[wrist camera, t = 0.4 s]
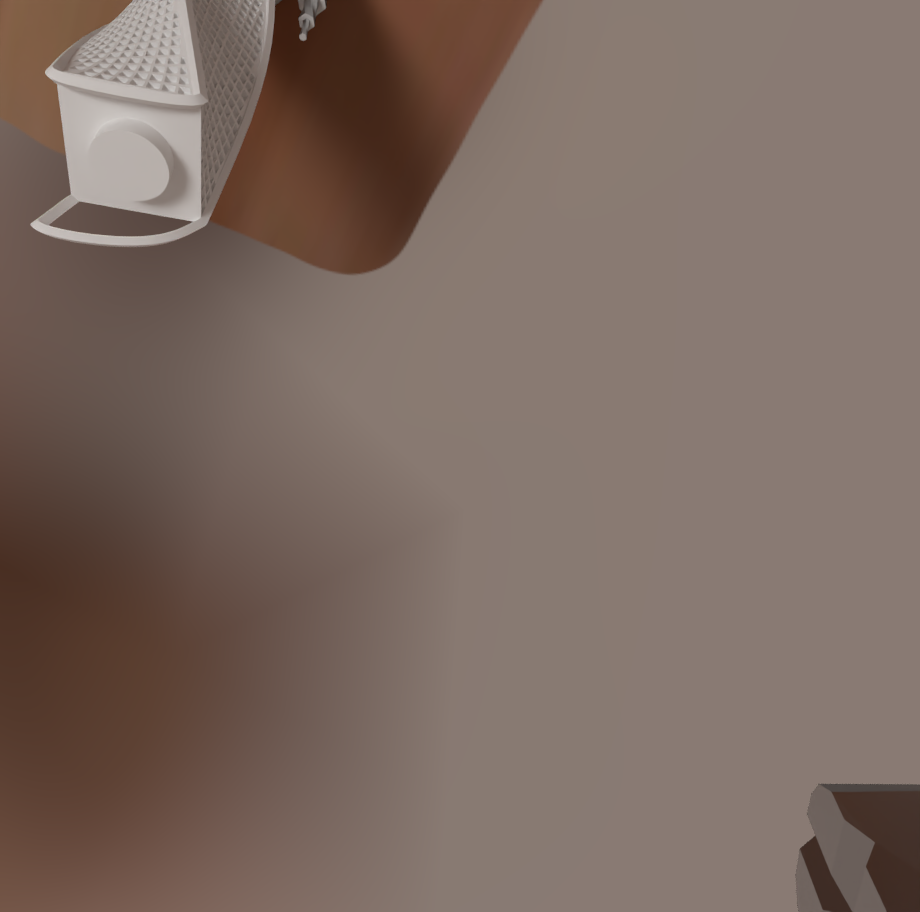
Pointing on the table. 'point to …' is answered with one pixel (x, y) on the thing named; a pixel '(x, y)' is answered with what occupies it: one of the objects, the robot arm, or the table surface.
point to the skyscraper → (162, 108)
